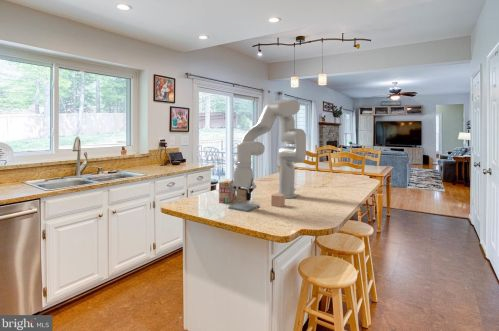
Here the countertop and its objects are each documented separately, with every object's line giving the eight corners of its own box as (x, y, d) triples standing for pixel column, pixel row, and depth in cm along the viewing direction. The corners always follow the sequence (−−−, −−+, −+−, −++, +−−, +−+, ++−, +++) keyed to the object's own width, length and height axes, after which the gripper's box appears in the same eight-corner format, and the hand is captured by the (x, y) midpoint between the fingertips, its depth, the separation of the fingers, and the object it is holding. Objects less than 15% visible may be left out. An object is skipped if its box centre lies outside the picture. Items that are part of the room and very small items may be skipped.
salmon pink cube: (275, 203, 177) (276, 193, 176) (284, 205, 174) (284, 194, 174) (271, 205, 172) (271, 195, 172) (280, 207, 170) (280, 196, 169)
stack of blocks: (226, 195, 199) (226, 176, 198) (235, 195, 198) (235, 176, 197) (218, 203, 178) (218, 181, 177) (229, 203, 177) (229, 182, 176)
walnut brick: (242, 198, 171) (242, 187, 170) (250, 199, 168) (250, 188, 167) (236, 200, 166) (236, 189, 165) (245, 201, 163) (245, 190, 162)
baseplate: (240, 203, 176) (240, 202, 176) (259, 206, 169) (259, 205, 169) (228, 208, 165) (228, 206, 165) (247, 211, 159) (247, 209, 159)
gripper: (226, 165, 166) (226, 198, 168) (254, 167, 157) (253, 202, 159) (234, 163, 172) (234, 196, 174) (261, 166, 163) (261, 199, 165)
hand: (243, 198), depth 167 cm, fingers closed on walnut brick, 5 cm apart
